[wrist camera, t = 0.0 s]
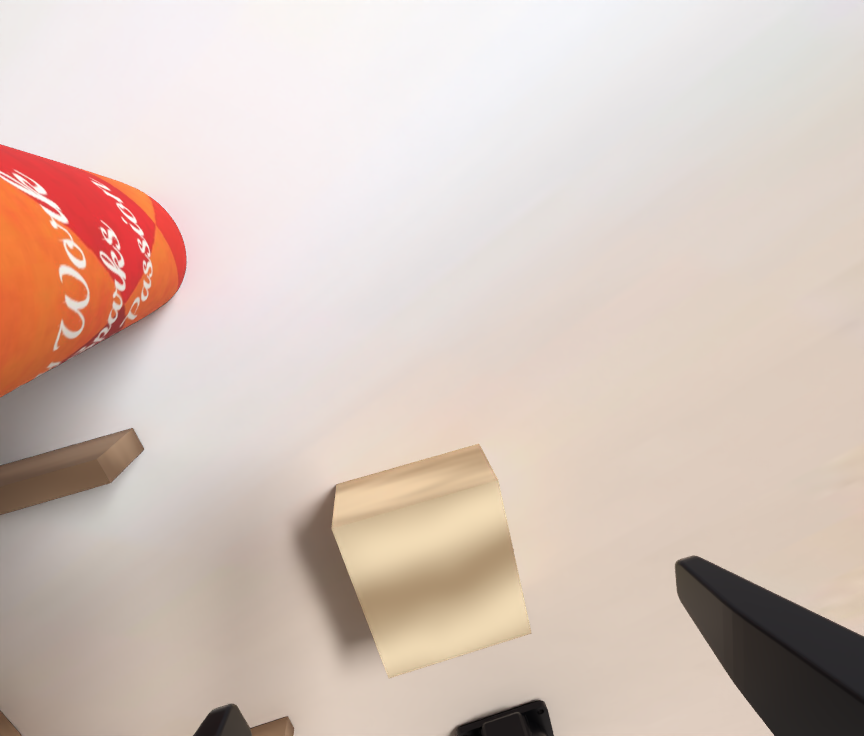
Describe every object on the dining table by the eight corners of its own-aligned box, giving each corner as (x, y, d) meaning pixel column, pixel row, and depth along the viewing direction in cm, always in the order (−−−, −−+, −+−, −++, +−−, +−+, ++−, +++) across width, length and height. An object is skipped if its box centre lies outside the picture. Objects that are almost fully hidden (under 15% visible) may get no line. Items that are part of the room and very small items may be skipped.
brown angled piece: (294, 728, 28) (286, 783, 26) (57, 806, 28) (22, 872, 25) (132, 428, 21) (96, 458, 18) (-196, 521, 20) (-288, 568, 17)
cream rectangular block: (508, 578, 28) (531, 633, 24) (385, 615, 27) (388, 678, 23) (477, 441, 24) (497, 479, 21) (336, 481, 24) (331, 528, 20)
